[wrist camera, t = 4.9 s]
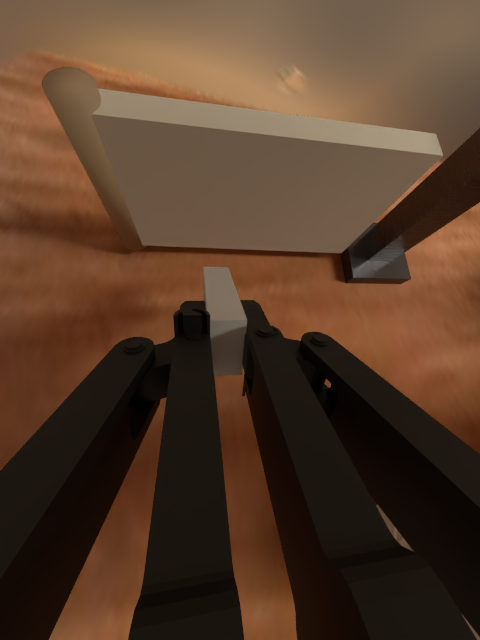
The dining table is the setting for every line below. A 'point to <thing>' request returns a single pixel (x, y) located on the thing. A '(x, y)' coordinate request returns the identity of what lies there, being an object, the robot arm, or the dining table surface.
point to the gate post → (416, 219)
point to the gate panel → (233, 169)
